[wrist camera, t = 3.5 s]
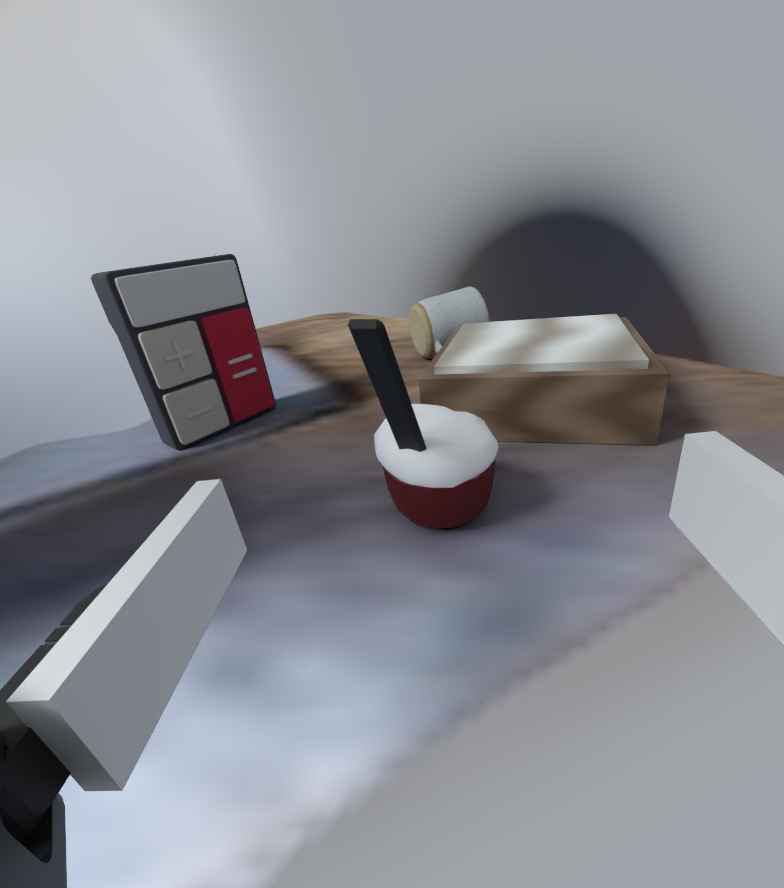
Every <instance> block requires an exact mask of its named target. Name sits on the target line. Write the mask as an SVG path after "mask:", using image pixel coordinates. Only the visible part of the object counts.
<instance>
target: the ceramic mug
mask: <svg viewBox="0 0 784 888" xmlns="http://www.w3.org/2000/svg"><path fill="white" fill-rule="evenodd" d="M483 322H489V317H488V311H487V308H486V304H485V302H484V300H483V298H482V296H481V295H480V293H479V292H478V290H476V289H475V288H473V287H466V288H463V289H459V290H456V291H453V292H449V293H445V294H442V295H439V296H435V297H431V298H427V299H424V300H422V301H420V302H418V303H416V304H415V305H414V306H413V307H412V309H411V311H410V316H409V323H410V331H411V336H412V340H413V343H414V345H415V348H416V350H417V351H418V353H419V354H420V355H421V356H423V357H424V358H427V359H429V358H434V357H435V356H436V354H437V353H438V351H439V350H440V349H441V347H442V346H443V345H444V343H445V342H446V340H447V339H448V338H449V336H450V335H451V334H452V332H453V331H454V329H455V328H461V326H462V325H463V324H468V323H483Z"/></svg>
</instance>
